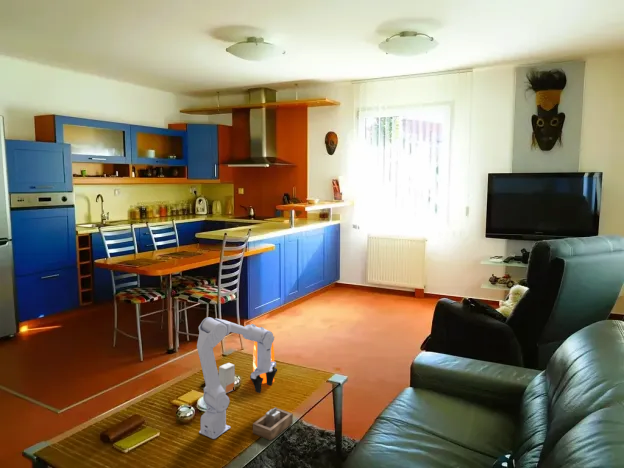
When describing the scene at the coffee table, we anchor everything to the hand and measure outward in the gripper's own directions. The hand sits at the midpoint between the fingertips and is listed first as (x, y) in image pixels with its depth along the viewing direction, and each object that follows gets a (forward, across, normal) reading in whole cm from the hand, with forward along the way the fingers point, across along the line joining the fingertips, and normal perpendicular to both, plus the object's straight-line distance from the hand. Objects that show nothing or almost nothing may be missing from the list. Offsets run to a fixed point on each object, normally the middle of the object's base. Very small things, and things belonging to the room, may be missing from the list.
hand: (263, 388), depth 195 cm
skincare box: (+10, +4, +24) cm, 26 cm away
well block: (+9, -9, -12) cm, 17 cm away
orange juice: (+10, +22, +17) cm, 29 cm away
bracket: (+9, -9, -11) cm, 17 cm away
